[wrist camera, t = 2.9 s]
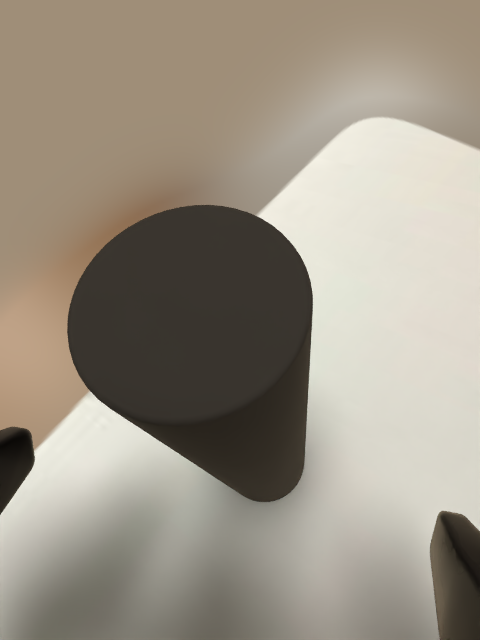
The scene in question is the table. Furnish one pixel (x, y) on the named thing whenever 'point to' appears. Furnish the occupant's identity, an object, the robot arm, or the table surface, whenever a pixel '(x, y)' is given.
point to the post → (203, 342)
